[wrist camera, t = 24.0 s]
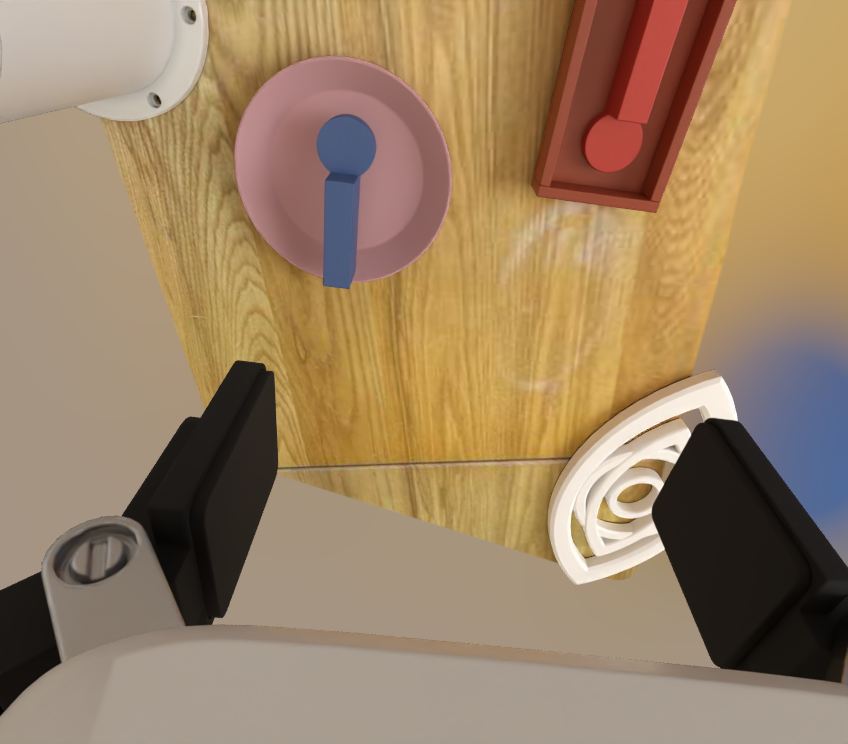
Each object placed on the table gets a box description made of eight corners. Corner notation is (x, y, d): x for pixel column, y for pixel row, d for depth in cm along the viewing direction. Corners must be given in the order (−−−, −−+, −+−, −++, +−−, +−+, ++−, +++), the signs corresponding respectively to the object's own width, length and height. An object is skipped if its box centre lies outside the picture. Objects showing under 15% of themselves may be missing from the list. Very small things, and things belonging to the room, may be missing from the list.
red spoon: (627, 173, 35) (641, 184, 32) (574, 165, 34) (584, 176, 32) (691, -19, 29) (714, -23, 26) (628, -29, 29) (645, -34, 26)
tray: (643, 201, 36) (656, 213, 34) (531, 186, 36) (536, 196, 34) (736, -56, 28) (761, -62, 26) (593, -79, 28) (606, -88, 26)
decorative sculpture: (777, 377, 44) (787, 388, 43) (657, 582, 60) (662, 594, 59) (603, 360, 43) (608, 371, 42) (529, 572, 60) (531, 584, 59)
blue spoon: (319, 109, 32) (309, 117, 29) (378, 118, 32) (373, 126, 29) (318, 267, 37) (309, 284, 35) (368, 273, 38) (362, 291, 35)
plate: (202, 99, 33) (190, 104, 32) (412, 17, 31) (411, 17, 29) (299, 293, 41) (293, 304, 39) (474, 241, 38) (476, 251, 36)
